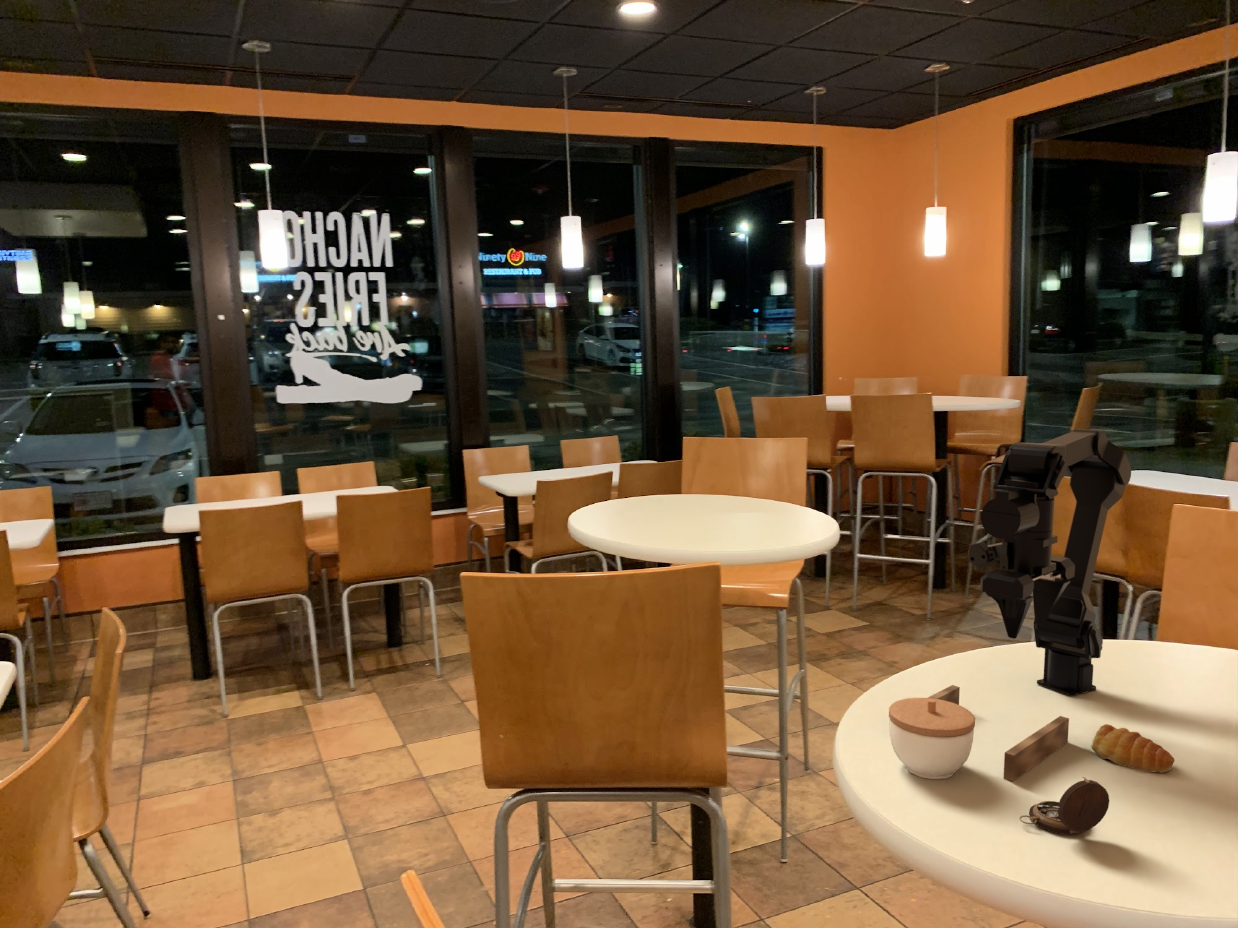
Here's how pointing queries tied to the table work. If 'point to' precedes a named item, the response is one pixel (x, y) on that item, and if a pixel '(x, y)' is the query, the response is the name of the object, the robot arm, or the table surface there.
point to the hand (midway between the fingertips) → (1026, 631)
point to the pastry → (1131, 750)
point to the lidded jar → (931, 736)
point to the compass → (1072, 809)
